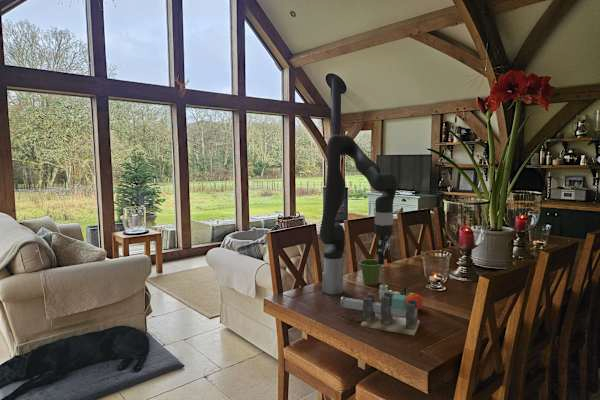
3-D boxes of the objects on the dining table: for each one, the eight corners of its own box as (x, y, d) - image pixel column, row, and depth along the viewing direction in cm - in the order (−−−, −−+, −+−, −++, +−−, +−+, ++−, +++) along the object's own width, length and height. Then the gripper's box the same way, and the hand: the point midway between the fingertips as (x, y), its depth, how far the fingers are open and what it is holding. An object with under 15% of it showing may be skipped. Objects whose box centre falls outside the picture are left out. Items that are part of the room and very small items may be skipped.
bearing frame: (360, 325, 151) (360, 297, 149) (369, 314, 161) (369, 287, 160) (414, 335, 142) (414, 304, 141) (419, 322, 152) (420, 294, 151)
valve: (378, 301, 176) (405, 304, 172) (378, 287, 175) (406, 289, 171) (379, 296, 182) (406, 299, 178) (379, 283, 181) (406, 285, 178)
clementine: (400, 308, 167) (400, 292, 167) (410, 304, 171) (410, 288, 171) (415, 314, 161) (416, 297, 160) (425, 309, 165) (426, 293, 164)
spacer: (391, 308, 148) (391, 298, 148) (394, 303, 153) (394, 293, 152) (403, 310, 146) (403, 299, 146) (406, 305, 151) (406, 295, 150)
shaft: (340, 308, 158) (339, 298, 158) (343, 305, 162) (343, 294, 162) (414, 321, 145) (414, 309, 144) (416, 316, 149) (417, 305, 148)
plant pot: (367, 278, 209) (367, 258, 208) (386, 283, 201) (387, 261, 200) (354, 283, 201) (354, 262, 200) (374, 289, 193) (374, 266, 191)
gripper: (378, 219, 167) (378, 256, 169) (370, 225, 154) (370, 265, 156) (396, 220, 164) (396, 258, 165) (389, 226, 151) (389, 267, 153)
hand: (383, 261), depth 161 cm, fingers open, 8 cm apart
